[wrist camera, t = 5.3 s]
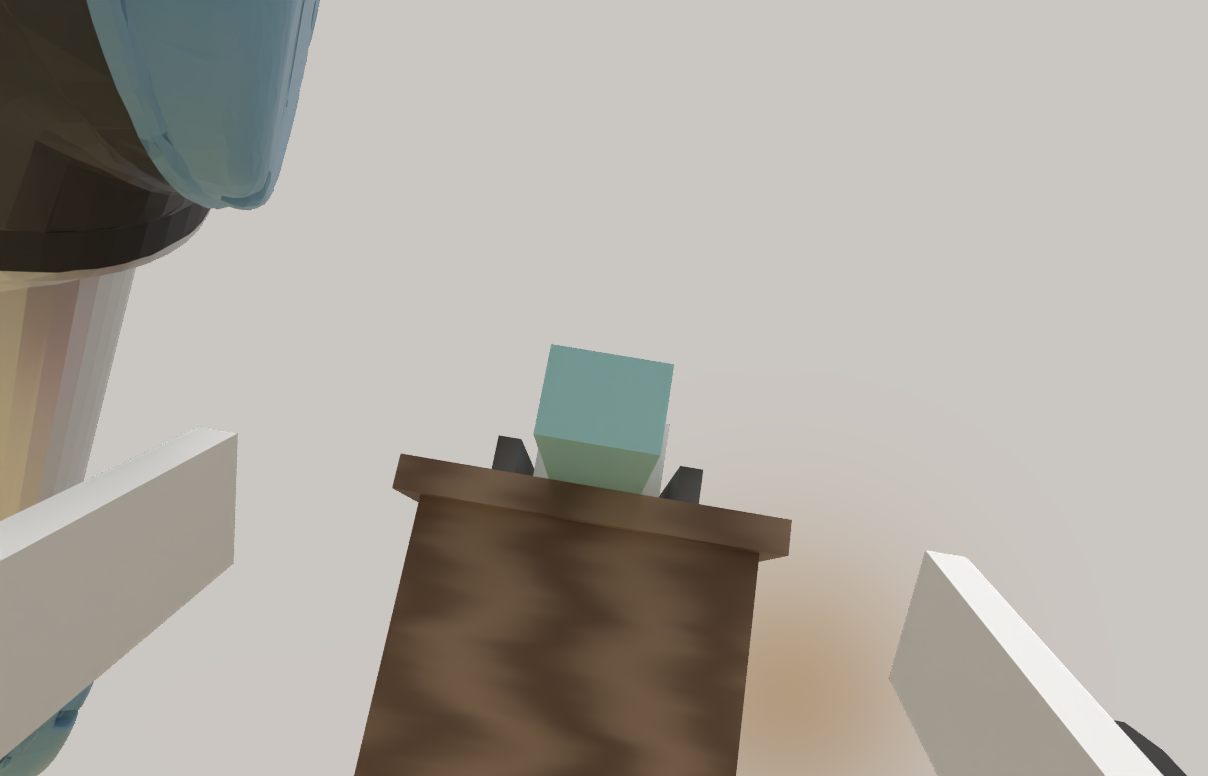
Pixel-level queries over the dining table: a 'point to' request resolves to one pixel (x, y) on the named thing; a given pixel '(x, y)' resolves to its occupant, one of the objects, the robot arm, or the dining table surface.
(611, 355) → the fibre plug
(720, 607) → the wood-grain storage bin
